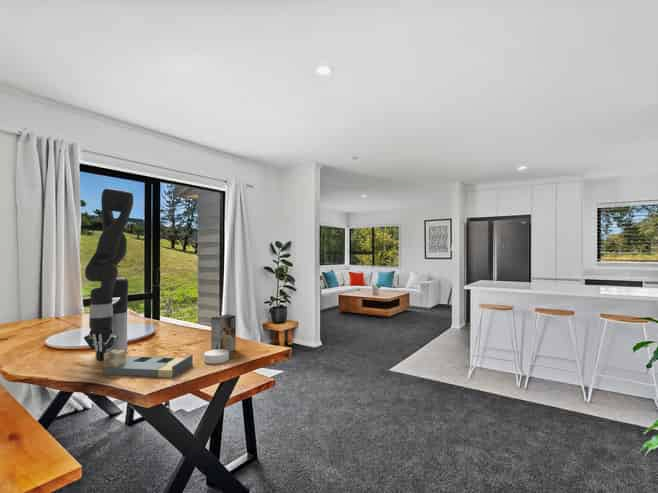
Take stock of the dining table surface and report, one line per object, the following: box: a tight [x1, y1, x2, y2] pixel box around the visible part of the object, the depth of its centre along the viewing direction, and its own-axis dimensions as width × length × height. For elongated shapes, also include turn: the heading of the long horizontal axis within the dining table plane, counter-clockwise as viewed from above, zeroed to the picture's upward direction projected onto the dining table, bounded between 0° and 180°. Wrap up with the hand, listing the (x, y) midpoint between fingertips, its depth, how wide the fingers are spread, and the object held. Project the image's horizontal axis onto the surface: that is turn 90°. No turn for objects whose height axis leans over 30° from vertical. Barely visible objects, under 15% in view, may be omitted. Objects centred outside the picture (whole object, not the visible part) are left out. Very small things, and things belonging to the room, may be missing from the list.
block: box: [103, 349, 127, 367], centre depth 132 cm, size 5×5×5 cm
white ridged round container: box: [203, 349, 230, 365], centre depth 147 cm, size 10×10×4 cm
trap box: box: [101, 354, 194, 378], centre depth 135 cm, size 28×14×4 cm, turn 84°
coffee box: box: [210, 314, 237, 353], centre depth 159 cm, size 9×6×16 cm
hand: (100, 360), depth 133 cm, fingers closed
